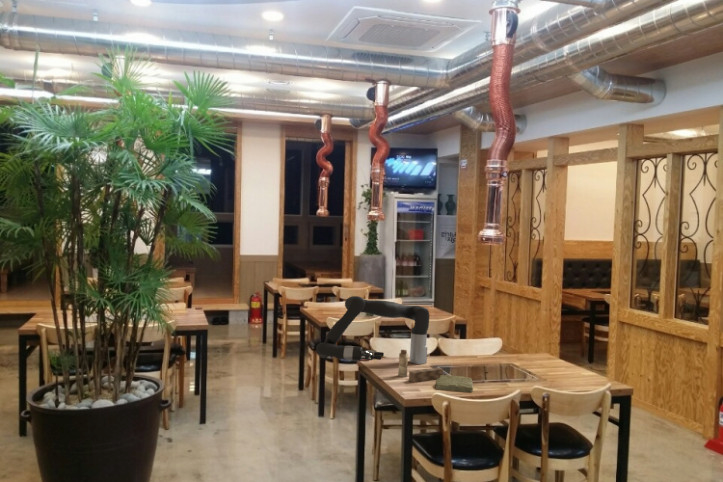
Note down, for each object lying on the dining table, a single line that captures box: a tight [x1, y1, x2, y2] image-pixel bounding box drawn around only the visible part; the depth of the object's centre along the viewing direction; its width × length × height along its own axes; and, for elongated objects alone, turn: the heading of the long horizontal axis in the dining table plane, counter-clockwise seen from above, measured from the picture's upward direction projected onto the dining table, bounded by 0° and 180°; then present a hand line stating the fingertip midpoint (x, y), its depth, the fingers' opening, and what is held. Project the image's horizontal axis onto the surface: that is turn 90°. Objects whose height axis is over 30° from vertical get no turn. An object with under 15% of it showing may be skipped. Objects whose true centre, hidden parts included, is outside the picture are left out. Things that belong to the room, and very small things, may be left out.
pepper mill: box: [397, 349, 409, 378], centre depth 339 cm, size 5×5×14 cm
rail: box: [408, 367, 444, 383], centre depth 334 cm, size 20×4×5 cm, turn 125°
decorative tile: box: [435, 374, 474, 393], centre depth 324 cm, size 19×20×4 cm
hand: (382, 356), depth 341 cm, fingers open, 8 cm apart
